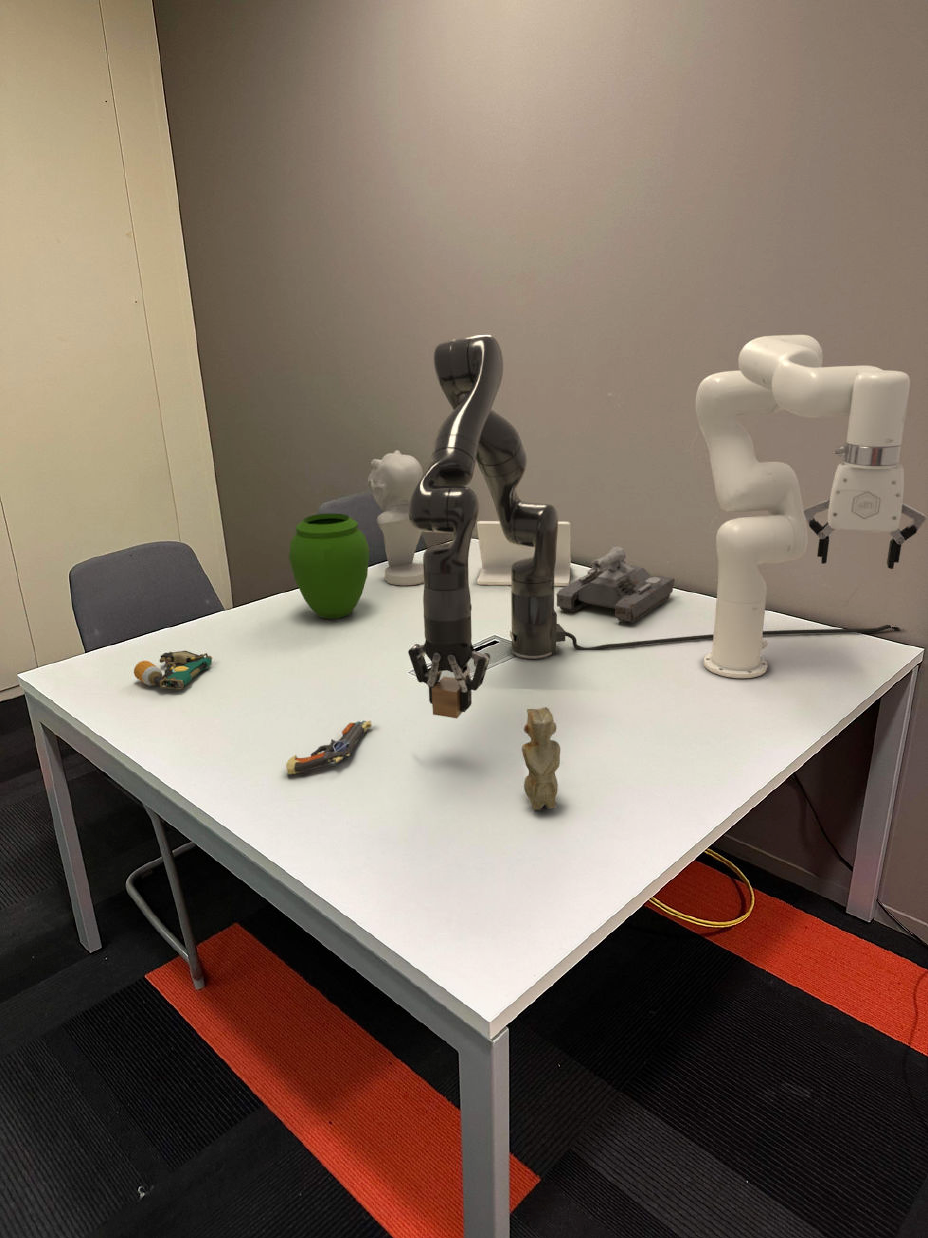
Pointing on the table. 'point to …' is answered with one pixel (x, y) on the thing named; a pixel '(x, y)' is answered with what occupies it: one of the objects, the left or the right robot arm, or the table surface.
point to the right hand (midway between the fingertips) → (856, 563)
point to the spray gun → (172, 669)
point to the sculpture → (541, 759)
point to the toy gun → (330, 749)
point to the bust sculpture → (397, 515)
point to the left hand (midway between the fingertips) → (450, 707)
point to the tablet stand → (516, 554)
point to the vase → (329, 563)
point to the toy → (616, 588)
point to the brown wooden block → (446, 698)
